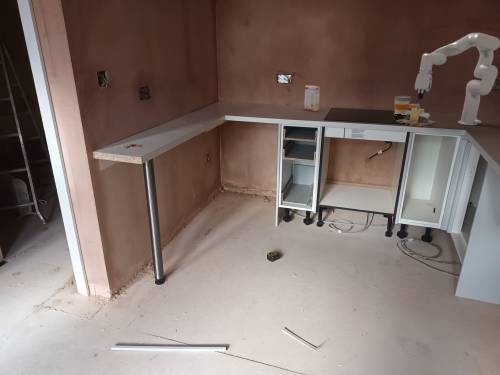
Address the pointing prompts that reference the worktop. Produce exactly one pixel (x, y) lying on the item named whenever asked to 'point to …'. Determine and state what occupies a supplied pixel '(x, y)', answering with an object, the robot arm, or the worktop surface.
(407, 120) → the valve board
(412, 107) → the valve lever
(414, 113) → the ball valve
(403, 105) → the reusable coffee cup
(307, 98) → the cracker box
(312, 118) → the worktop surface
